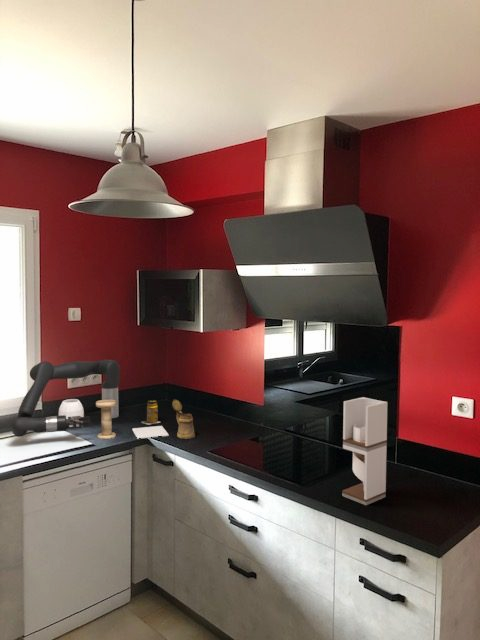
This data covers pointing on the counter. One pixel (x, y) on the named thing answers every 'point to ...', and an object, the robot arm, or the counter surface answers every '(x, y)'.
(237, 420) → the counter surface
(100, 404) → the wooden spool
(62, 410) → the white faceted vase
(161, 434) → the mat
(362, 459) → the display case
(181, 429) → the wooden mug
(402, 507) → the counter surface
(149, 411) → the condiment
